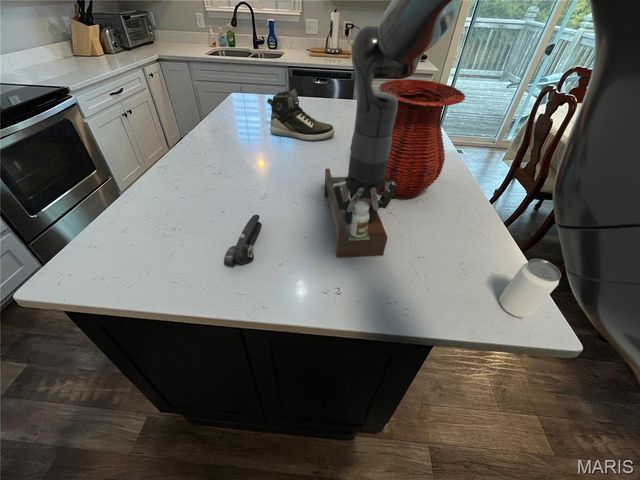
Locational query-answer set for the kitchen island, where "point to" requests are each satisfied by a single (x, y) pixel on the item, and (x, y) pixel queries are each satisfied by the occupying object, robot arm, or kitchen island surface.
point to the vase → (417, 133)
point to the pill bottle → (359, 219)
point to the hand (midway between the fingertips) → (359, 221)
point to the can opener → (244, 244)
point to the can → (529, 287)
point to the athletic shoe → (295, 119)
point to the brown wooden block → (346, 242)
